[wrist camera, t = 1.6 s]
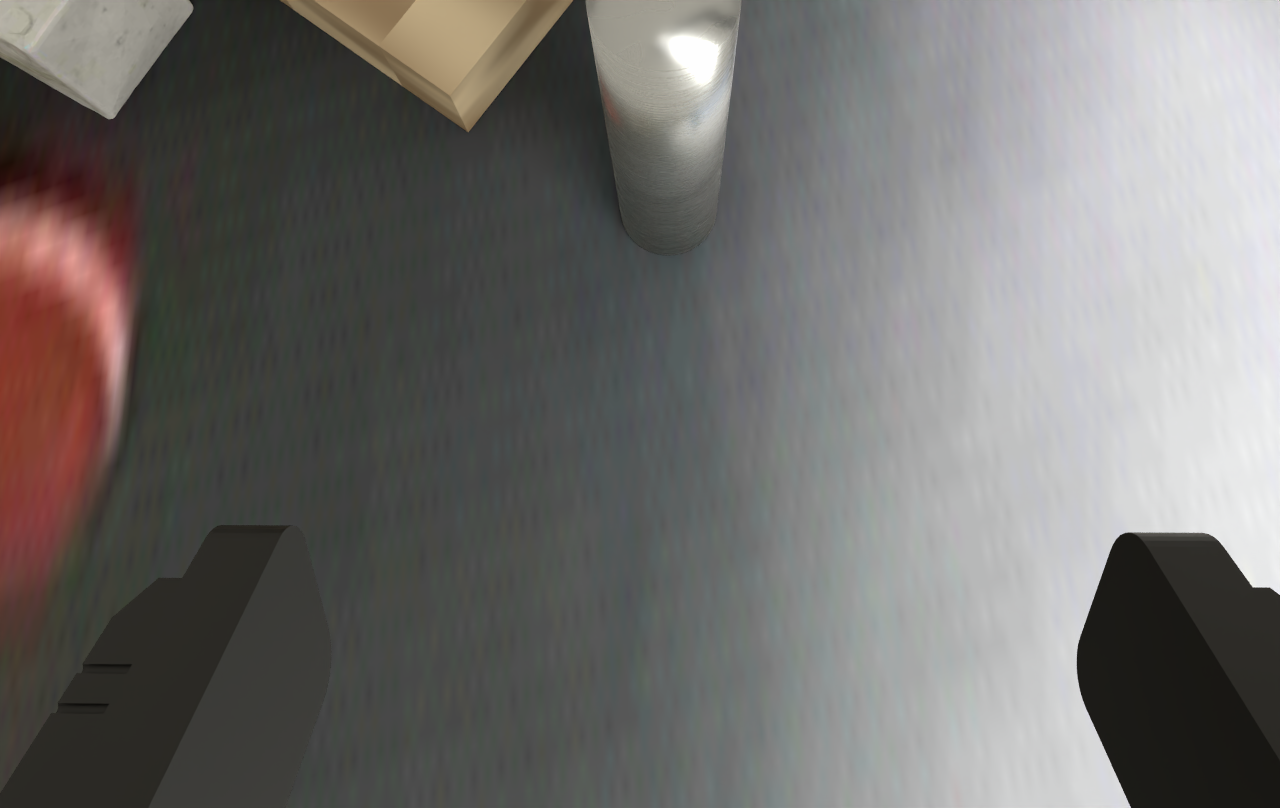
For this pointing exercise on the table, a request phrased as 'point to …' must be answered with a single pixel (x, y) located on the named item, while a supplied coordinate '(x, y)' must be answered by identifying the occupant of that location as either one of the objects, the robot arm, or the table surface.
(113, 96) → the block
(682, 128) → the pin
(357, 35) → the socket
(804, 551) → the table surface
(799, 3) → the table surface
